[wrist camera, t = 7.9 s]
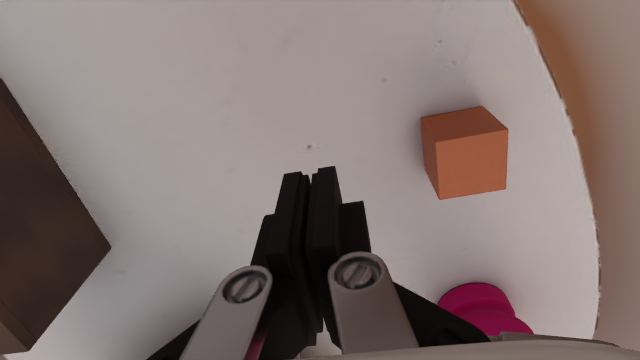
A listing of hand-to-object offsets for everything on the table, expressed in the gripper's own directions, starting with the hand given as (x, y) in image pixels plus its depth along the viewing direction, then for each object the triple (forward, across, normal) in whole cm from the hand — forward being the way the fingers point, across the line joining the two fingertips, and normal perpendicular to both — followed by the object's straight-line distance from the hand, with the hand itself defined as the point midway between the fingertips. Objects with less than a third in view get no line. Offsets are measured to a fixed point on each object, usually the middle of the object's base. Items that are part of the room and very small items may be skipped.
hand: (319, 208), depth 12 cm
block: (+13, -8, +5) cm, 16 cm away
